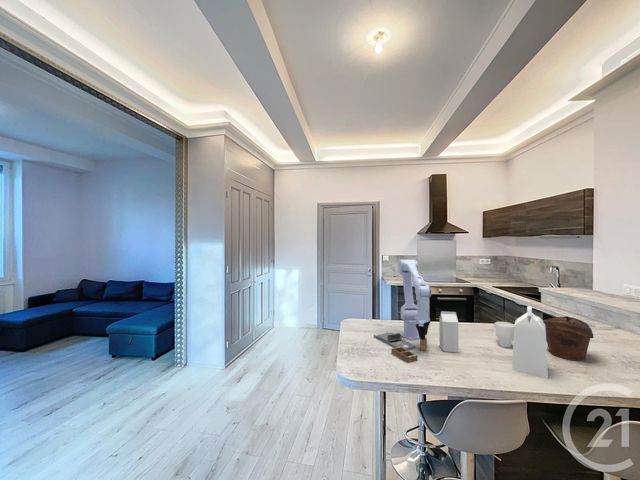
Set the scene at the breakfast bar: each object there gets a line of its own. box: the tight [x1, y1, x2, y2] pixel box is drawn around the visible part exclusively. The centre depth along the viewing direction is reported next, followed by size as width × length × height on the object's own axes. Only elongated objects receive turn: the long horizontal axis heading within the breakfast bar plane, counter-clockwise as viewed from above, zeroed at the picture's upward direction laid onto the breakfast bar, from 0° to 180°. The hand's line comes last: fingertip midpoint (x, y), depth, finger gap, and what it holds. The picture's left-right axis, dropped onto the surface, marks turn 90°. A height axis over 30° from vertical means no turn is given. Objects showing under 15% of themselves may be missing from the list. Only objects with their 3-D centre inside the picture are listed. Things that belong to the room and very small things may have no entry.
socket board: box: [390, 347, 419, 364], centre depth 126 cm, size 6×11×2 cm, turn 26°
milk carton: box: [438, 311, 459, 354], centre depth 135 cm, size 7×7×19 cm
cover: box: [376, 332, 403, 343], centre depth 148 cm, size 10×9×3 cm
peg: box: [419, 337, 428, 352], centre depth 134 cm, size 3×3×6 cm
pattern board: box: [373, 334, 417, 351], centre depth 144 cm, size 10×22×1 cm, turn 26°
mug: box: [492, 321, 515, 348], centre depth 141 cm, size 12×8×11 cm
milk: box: [511, 305, 549, 379], centre depth 115 cm, size 12×12×26 cm
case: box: [542, 316, 595, 362], centre depth 128 cm, size 18×20×18 cm
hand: (423, 336), depth 134 cm, fingers open, 7 cm apart
